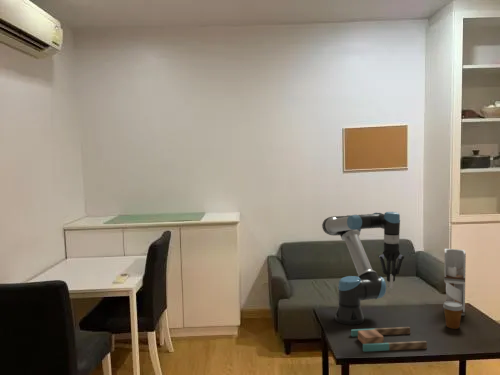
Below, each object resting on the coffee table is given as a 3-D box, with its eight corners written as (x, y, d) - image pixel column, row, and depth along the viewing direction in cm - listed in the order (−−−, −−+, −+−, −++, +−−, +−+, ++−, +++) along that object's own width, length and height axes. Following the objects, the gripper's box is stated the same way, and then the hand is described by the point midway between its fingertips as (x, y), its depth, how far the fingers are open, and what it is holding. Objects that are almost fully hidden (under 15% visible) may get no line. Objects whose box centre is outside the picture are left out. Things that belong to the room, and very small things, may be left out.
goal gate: (363, 351, 203) (363, 345, 203) (351, 335, 222) (351, 329, 222) (389, 350, 204) (389, 344, 204) (374, 334, 223) (374, 328, 222)
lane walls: (389, 350, 204) (389, 344, 204) (374, 334, 223) (374, 328, 222) (426, 348, 205) (426, 342, 205) (408, 332, 224) (409, 326, 224)
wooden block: (365, 347, 208) (365, 338, 208) (357, 339, 217) (357, 330, 217) (383, 345, 210) (383, 336, 209) (375, 338, 218) (375, 329, 218)
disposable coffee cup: (461, 331, 225) (461, 308, 224) (441, 327, 230) (441, 305, 229) (463, 325, 233) (464, 302, 232) (444, 322, 238) (444, 300, 237)
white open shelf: (443, 307, 261) (444, 248, 259) (463, 309, 257) (464, 249, 255) (444, 313, 251) (444, 252, 249) (464, 315, 247) (465, 253, 244)
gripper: (381, 244, 221) (380, 290, 223) (407, 243, 222) (405, 289, 224) (376, 241, 229) (375, 285, 231) (401, 240, 229) (400, 285, 231)
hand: (390, 287), depth 227 cm, fingers closed
